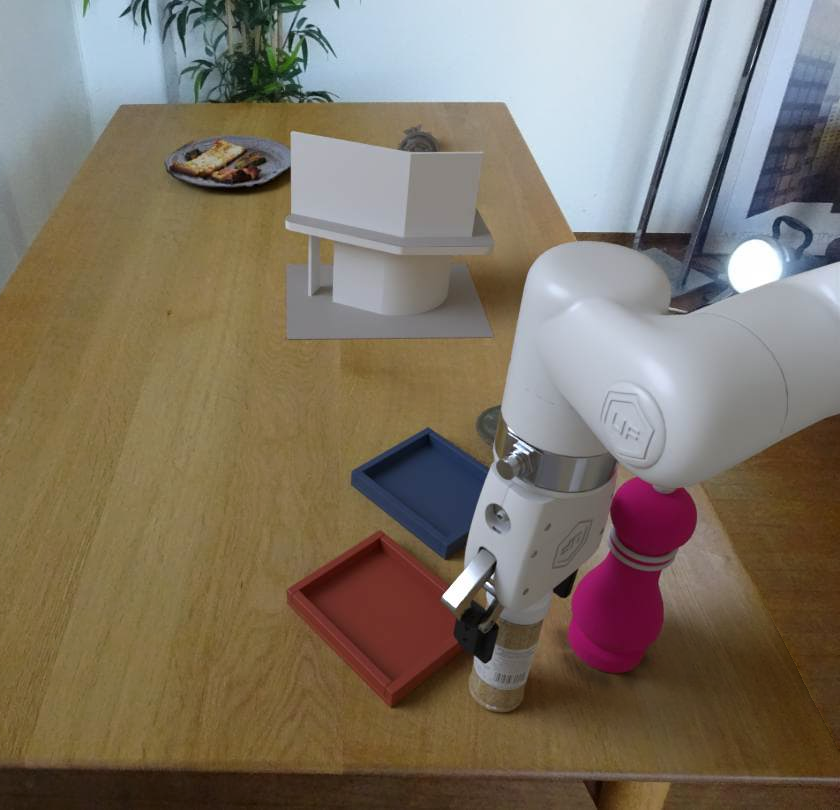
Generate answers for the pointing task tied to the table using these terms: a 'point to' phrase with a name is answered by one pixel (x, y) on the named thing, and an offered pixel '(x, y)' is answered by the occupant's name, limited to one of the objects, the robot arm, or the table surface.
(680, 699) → the table surface
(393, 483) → the blue tray
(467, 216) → the architectural model
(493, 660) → the sprinkles bottle
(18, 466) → the table surface
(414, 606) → the red tray
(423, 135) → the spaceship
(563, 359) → the robot arm
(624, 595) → the pepper mill
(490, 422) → the lid
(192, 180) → the food plate
